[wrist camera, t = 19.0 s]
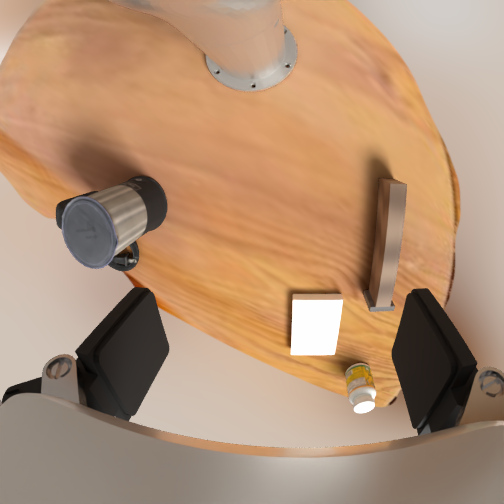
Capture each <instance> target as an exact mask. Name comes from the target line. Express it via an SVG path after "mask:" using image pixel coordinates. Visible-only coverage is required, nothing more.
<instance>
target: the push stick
mask: <svg viewBox="0 0 504 504" xmlns="http://www.w3.org/2000/svg"><path fill="white" fill-rule="evenodd" d="M406 192H407V184H405V183H402V182H400V181H398V180H395V179H387V178H379V186H378V207H377V222H376V234H375V244H374V253H373V261H372V269H371V276H370V283H369V290H364V293H363V295H364V298H365V300H366V303H367V305H368V308H369V311H370V312H376V311H394V308H395V306H394V304H393V302H392V296H393V291H394V286H395V281H396V275H397V269H398V263H399V257H400V250H401V243H402V235H403V227H404V217H405V206H406Z"/></svg>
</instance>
